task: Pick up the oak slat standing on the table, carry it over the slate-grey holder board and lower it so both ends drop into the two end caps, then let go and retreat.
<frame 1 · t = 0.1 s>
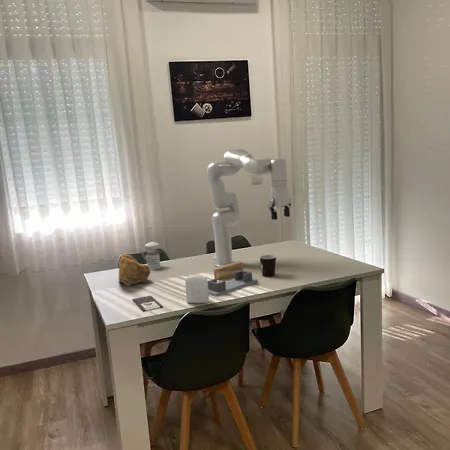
hand: (280, 217, 230), 31 cm above the table, fingers open, 9 cm apart
coffee mug: (269, 274, 242), on the table
rough brown rock: (135, 282, 244), on the table
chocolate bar: (147, 305, 209), on the table
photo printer: (197, 302, 207), on the table
slat: (229, 276, 245), on the table
endcap board: (230, 286, 225), on the table
french press: (152, 267, 272), on the table
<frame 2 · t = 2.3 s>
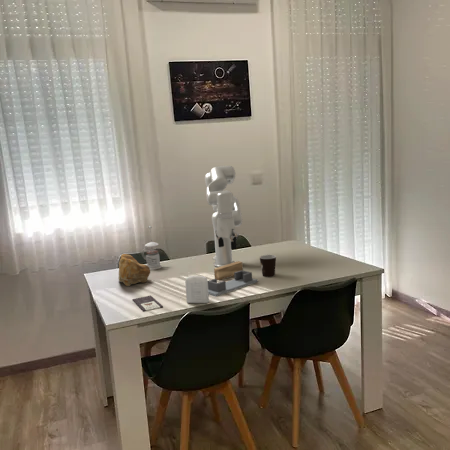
hand: (227, 247, 242), 15 cm above the table, fingers open, 9 cm apart
nothing on the table moved.
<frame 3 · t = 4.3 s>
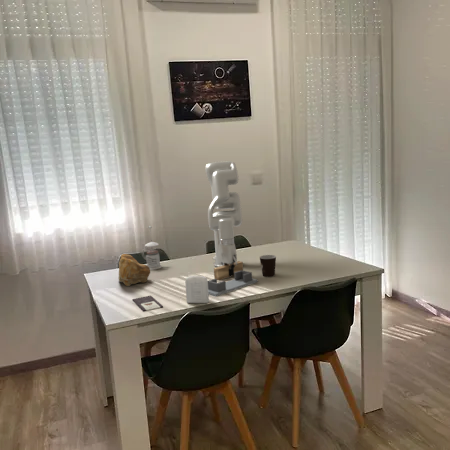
hand: (229, 274, 245), 1 cm above the table, fingers closed on slat, 3 cm apart
slat: (229, 275, 245), on the table, touching gripper
everything else where it was.
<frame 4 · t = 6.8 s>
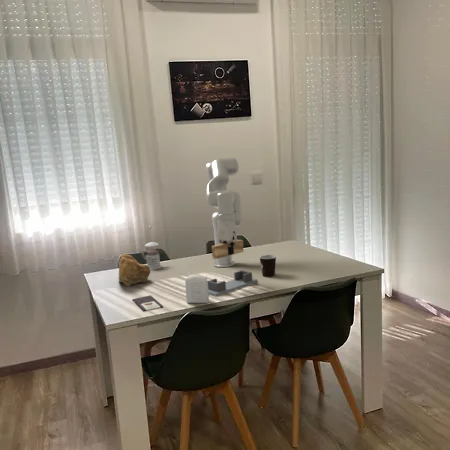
hand: (228, 253, 226), 16 cm above the table, fingers closed on slat, 3 cm apart
slat: (228, 254, 226), point 15 cm above the table, touching gripper
everything else where it was.
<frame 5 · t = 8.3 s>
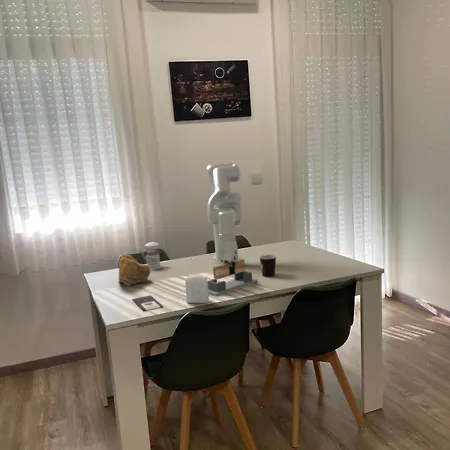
hand: (229, 273, 224), 7 cm above the table, fingers closed on slat, 3 cm apart
slat: (229, 274, 224), point 6 cm above the table, touching gripper
everything else where it was.
when the fingers open (3 cm above the table, at t = 9.4 s): slat stays where it is, resting on endcap board.
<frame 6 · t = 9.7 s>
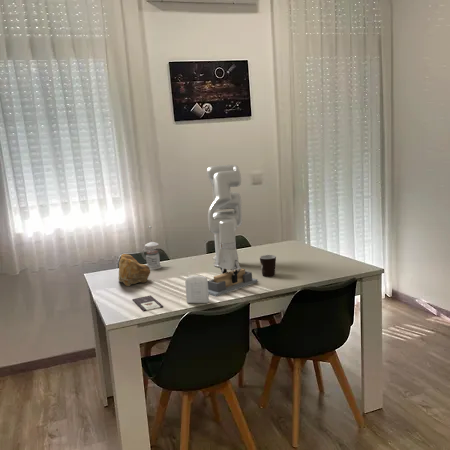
hand: (230, 280, 225), 3 cm above the table, fingers open, 6 cm apart
slat: (230, 284, 225), point 1 cm above the table, touching endcap board
everything else where it was.
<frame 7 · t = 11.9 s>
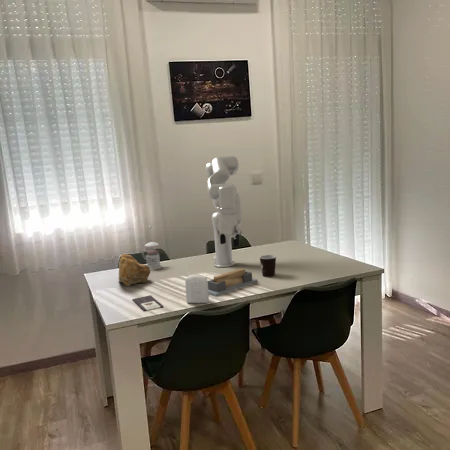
hand: (229, 245, 227), 20 cm above the table, fingers open, 9 cm apart
nothing on the table moved.
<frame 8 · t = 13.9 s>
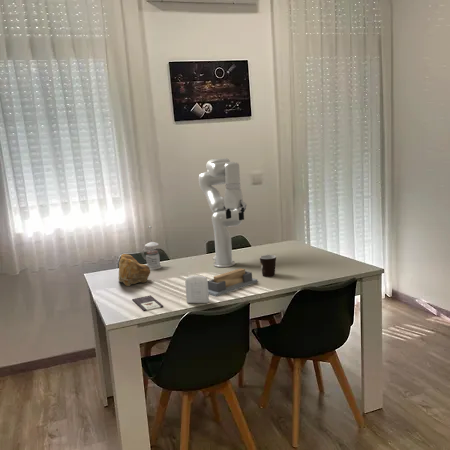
hand: (235, 219, 240), 30 cm above the table, fingers open, 9 cm apart
nothing on the table moved.
at the end: slat 0.1 cm off-centre on the endcap board, point 1.2 cm above the endcap board's base; slat tilted 0°; the gripper is holding nothing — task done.
